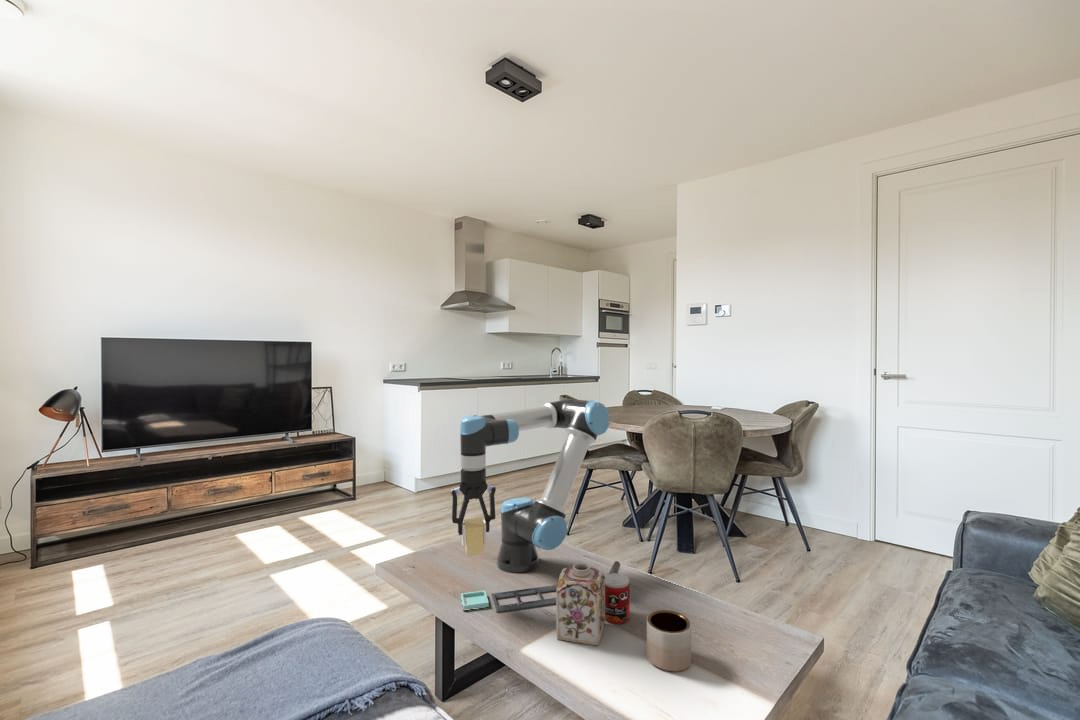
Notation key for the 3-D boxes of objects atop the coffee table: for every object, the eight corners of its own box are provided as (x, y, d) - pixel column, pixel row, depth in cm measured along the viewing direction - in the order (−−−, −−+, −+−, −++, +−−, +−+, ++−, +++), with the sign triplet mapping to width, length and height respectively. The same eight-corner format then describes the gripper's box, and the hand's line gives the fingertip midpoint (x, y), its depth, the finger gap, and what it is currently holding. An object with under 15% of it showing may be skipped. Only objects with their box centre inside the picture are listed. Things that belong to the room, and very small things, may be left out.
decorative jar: (606, 622, 137) (605, 559, 137) (599, 647, 126) (599, 578, 125) (564, 616, 140) (564, 555, 140) (555, 640, 129) (554, 573, 129)
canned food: (599, 621, 137) (599, 583, 137) (605, 607, 145) (605, 571, 145) (626, 626, 135) (626, 587, 135) (631, 612, 142) (631, 575, 142)
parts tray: (485, 595, 153) (485, 590, 153) (488, 607, 145) (488, 602, 145) (460, 598, 151) (460, 593, 151) (463, 611, 143) (463, 606, 143)
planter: (664, 678, 114) (664, 638, 113) (637, 652, 124) (637, 614, 123) (701, 666, 118) (701, 627, 118) (672, 641, 128) (672, 605, 128)
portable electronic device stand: (599, 584, 160) (599, 558, 160) (623, 587, 158) (623, 561, 157) (595, 597, 151) (595, 570, 151) (620, 600, 149) (620, 573, 149)
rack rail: (558, 588, 157) (558, 584, 157) (567, 602, 148) (567, 598, 148) (491, 597, 151) (491, 593, 151) (496, 612, 143) (496, 608, 143)
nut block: (482, 546, 151) (481, 518, 151) (484, 554, 146) (484, 524, 145) (463, 548, 150) (463, 519, 149) (465, 556, 144) (465, 526, 144)
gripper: (501, 463, 153) (501, 535, 154) (441, 467, 148) (442, 542, 149) (505, 468, 146) (506, 545, 146) (442, 473, 141) (443, 552, 142)
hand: (473, 543), depth 148 cm, fingers closed on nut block, 6 cm apart
